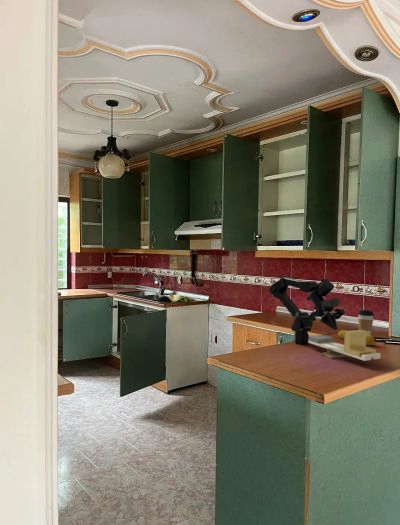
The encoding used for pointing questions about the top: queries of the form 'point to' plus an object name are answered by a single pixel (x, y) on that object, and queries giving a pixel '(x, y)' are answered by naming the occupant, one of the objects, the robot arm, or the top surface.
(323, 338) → the white twin rails
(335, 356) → the beam stand
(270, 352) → the top surface
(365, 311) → the coffee cup
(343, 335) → the food
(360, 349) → the block
